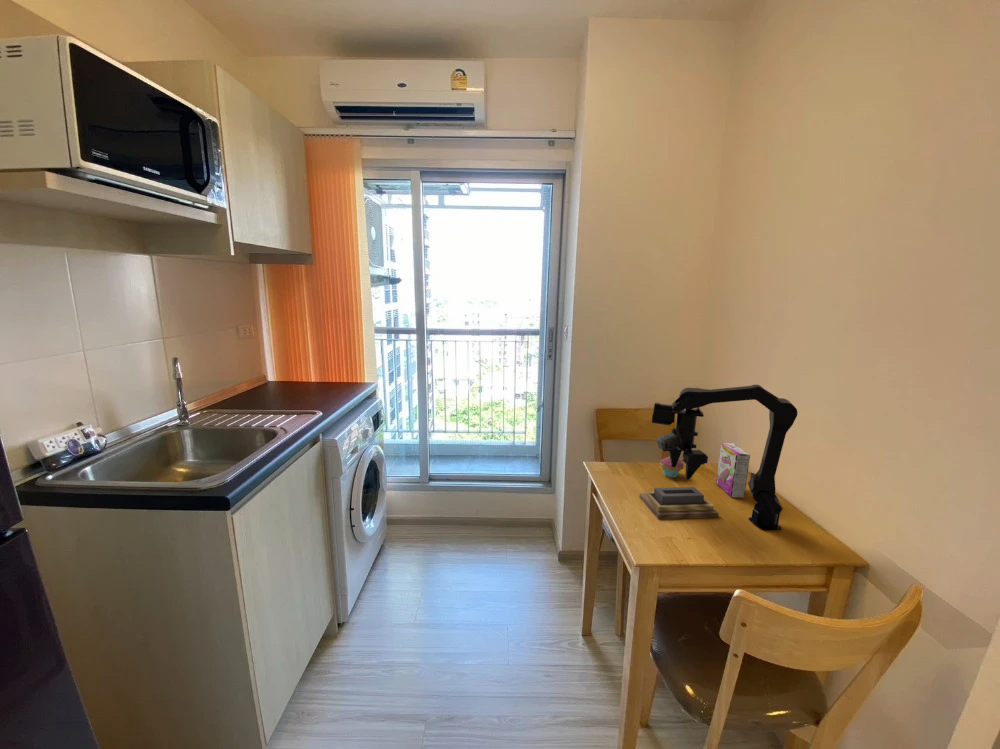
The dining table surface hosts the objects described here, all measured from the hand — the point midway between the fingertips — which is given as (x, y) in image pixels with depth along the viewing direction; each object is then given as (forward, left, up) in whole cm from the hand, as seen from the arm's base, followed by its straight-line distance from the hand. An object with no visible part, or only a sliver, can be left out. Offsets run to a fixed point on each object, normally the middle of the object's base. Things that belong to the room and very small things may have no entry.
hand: (680, 472), depth 135 cm
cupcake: (-10, -24, -12) cm, 29 cm away
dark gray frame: (0, 0, -11) cm, 11 cm away
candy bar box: (-25, -10, -12) cm, 30 cm away
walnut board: (0, 0, -12) cm, 12 cm away
